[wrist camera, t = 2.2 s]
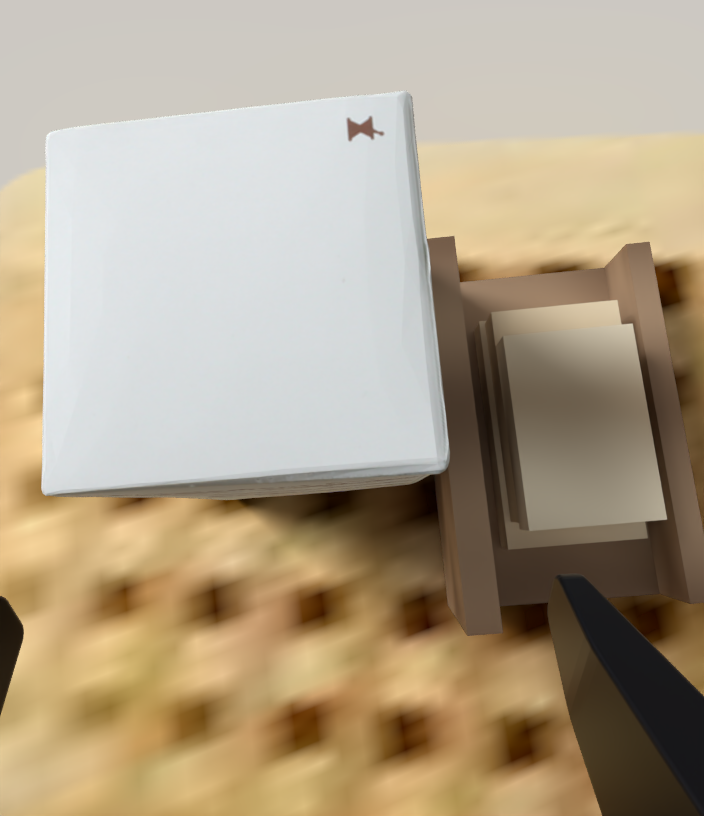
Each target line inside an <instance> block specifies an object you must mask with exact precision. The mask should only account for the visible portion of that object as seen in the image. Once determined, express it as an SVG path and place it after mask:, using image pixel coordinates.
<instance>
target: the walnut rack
mask: <svg viewBox="0 0 704 816" xmlns="http://www.w3.org/2000/svg"><path fill="white" fill-rule="evenodd" d="M427 242H428V246H429V254H430V266H431V279H432V291H433V301H434V310H435V320H436V329H437V339H438V348H439V357H440V366H441V375H442V385H443V394H444V403H445V412H446V421H447V430H448V439H449V449H450V460H449V464H448V467H447V469H446V470H445V471H443V472H442V473H440V474H434V481H435V491H436V500H437V509H438V518H439V527H440V537H441V546H442V555H443V564H444V574H445V583H446V592H447V601H448V606H449V608H450V609H451V611H452V612H453V614H454V616H455V617H456V619H457V620H458V622H459V623H460V625H461V627H462V628H463V630H464V631H465V633H466V634H467V636H471V635H485V634H498V633H503V628H502V620H501V612H500V606H511V605H524V604H537V603H548V602H549V598H550V593H551V589H552V585H553V580H554V578H555V577H556V576H557V575H559V574H581V575H583V576H584V577H586V578H587V579H588V580H589V581H590V582H591V583H592V584H593V585H594V586H595V587H596V588H597V589H598V590H599V591H600V592H601V593H602V594H603V595H604V596H605V597H606V598H614V597H627V596H640V595H653V594H661V595H665V596H668V597H671V598H674V599H677V600H680V601H683V602H686V603H690V604H694V603H704V531H703V526H702V521H701V515H700V510H699V505H698V499H697V494H696V489H695V483H694V478H693V472H692V467H691V462H690V456H689V451H688V446H687V440H686V435H685V430H684V424H683V419H682V413H681V408H680V403H679V397H678V392H677V387H676V381H675V376H674V371H673V365H672V360H671V355H670V349H669V344H668V338H667V333H666V328H665V322H664V317H663V312H662V306H661V301H660V296H659V290H658V285H657V279H656V274H655V269H654V263H653V258H652V253H651V247H650V242H643V243H634V244H626V245H625V246H624V247H623V248H622V249H621V250H620V251H619V252H618V254H617V255H616V256H615V257H614V258H613V259H612V260H611V261H610V262H609V263H608V264H607V265H606V267H605V268H598V269H588V270H578V271H568V272H558V273H548V274H539V275H529V276H519V277H509V278H499V279H489V280H479V281H469V282H460V279H459V271H458V263H457V255H456V247H455V239H454V236H451V237H441V238H431V239H427ZM611 300H617V301H618V307H619V313H620V318H621V324H632V323H633V328H634V334H635V340H636V345H637V351H638V357H639V362H640V368H641V374H642V379H643V385H644V391H645V396H646V402H647V408H648V413H649V419H650V425H651V430H652V436H653V442H654V447H655V453H656V459H657V464H658V470H659V476H660V481H661V487H662V493H663V498H664V504H665V510H666V515H667V520H657V521H645V524H646V530H647V536H648V538H645V539H633V540H621V541H608V542H596V543H584V544H572V545H559V546H547V547H535V548H523V549H510V550H508V549H505V548H502V547H501V543H500V535H499V527H498V519H497V511H496V503H495V495H494V487H493V479H492V471H491V463H490V455H489V447H488V439H487V432H486V424H485V416H484V408H483V400H482V392H481V384H480V376H479V368H478V360H477V352H476V344H475V336H474V330H475V328H476V326H477V324H478V322H479V321H487V319H488V317H489V315H490V313H491V312H499V311H509V310H519V309H529V308H540V307H550V306H560V305H570V304H580V303H590V302H600V301H611Z"/></svg>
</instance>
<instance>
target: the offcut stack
mask: <svg viewBox="0 0 704 816" xmlns="http://www.w3.org/2000/svg"><path fill="white" fill-rule="evenodd" d="M474 336H475V344H476V352H477V360H478V368H479V376H480V384H481V392H482V400H483V408H484V416H485V424H486V432H487V439H488V447H489V455H490V463H491V471H492V479H493V487H494V495H495V503H496V511H497V519H498V527H499V535H500V543H501V547H502V548H505V549H508V550H510V549H523V548H535V547H547V546H559V545H572V544H584V543H596V542H608V541H621V540H633V539H645V538H648V536H647V530H646V524H645V521H657V520H667V515H666V510H665V504H664V498H663V493H662V487H661V481H660V476H659V470H658V464H657V459H656V453H655V447H654V442H653V436H652V430H651V425H650V419H649V413H648V408H647V402H646V396H645V391H644V385H643V379H642V374H641V368H640V362H639V357H638V351H637V345H636V340H635V334H634V328H633V323H632V324H621V318H620V313H619V307H618V301H617V300H611V301H600V302H590V303H580V304H570V305H560V306H550V307H540V308H529V309H519V310H509V311H499V312H491V313H490V315H489V317H488V319H487V321H479V322H478V324H477V326H476V328H475V330H474Z"/></svg>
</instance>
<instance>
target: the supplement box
mask: <svg viewBox="0 0 704 816" xmlns="http://www.w3.org/2000/svg"><path fill="white" fill-rule="evenodd" d="M42 448H43V453H42V492H43V494H44V495H46V496H58V497H176V498H198V499H218V500H235V499H246V498H259V497H273V496H288V495H301V494H313V493H326V492H338V491H349V490H359V489H369V488H380V487H390V486H400V485H409V484H413V483H416V482H418V481H420V480H422V479H423V478H425V477H427V476H429V475H432V474H440V473H442V472H443V471H445V470H446V469H447V467H448V464H449V460H450V449H449V439H448V430H447V421H446V412H445V403H444V394H443V385H442V375H441V366H440V357H439V348H438V339H437V329H436V320H435V310H434V301H433V291H432V279H431V266H430V254H429V246H428V242H427V237H426V230H425V221H424V211H423V202H422V193H421V184H420V174H419V164H418V154H417V144H416V136H415V125H414V114H413V102H412V96H411V95H410V94H409V93H408V92H407V91H399V92H391V93H384V94H372V95H357V96H347V97H337V98H328V99H318V100H309V101H301V102H292V103H283V104H274V105H265V106H256V107H246V108H237V109H230V110H223V111H212V112H203V113H193V114H184V115H176V116H167V117H159V118H150V119H141V120H133V121H123V122H114V123H104V124H95V125H87V126H79V127H72V128H67V129H62V130H56V131H52V132H50V133H49V134H48V135H47V136H46V214H45V303H44V386H43V439H42Z"/></svg>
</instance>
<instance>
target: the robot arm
mask: <svg viewBox="0 0 704 816" xmlns="http://www.w3.org/2000/svg"><path fill="white" fill-rule="evenodd" d="M547 612H548V621H549V625H550V630H551V635H552V639H553V644H554V648H555V653H556V658H557V662H558V667H559V671H560V676H561V680H562V685H563V690H564V694H565V699H566V703H567V707H568V711H569V715H570V719H571V722H572V725H573V729H574V732H575V735H576V738H577V741H578V744H579V747H580V750H581V753H582V756H583V759H584V762H585V765H586V768H587V771H588V774H589V777H590V780H591V783H592V786H593V789H594V792H595V795H596V798H597V801H598V804H599V807H600V810H601V813H602V816H704V696H703V695H702V694H701V693H700V692H699V691H698V690H697V689H696V688H695V687H694V686H693V685H692V684H691V683H690V682H689V681H688V680H687V679H686V678H685V677H684V676H683V675H682V674H681V673H680V672H679V671H678V670H677V669H676V668H675V667H674V666H673V665H672V664H671V663H670V662H669V661H668V660H667V659H666V658H665V657H664V656H663V655H662V654H661V653H660V652H659V651H658V650H657V649H656V648H655V647H654V646H653V645H652V644H651V643H650V642H649V641H648V640H647V639H646V638H645V637H644V636H643V635H642V634H641V633H640V632H639V631H638V630H637V629H636V628H635V627H634V626H633V625H632V624H631V623H630V622H629V621H628V620H627V618H626V617H625V616H624V615H623V614H622V613H621V612H620V611H619V610H618V609H617V608H616V607H615V606H614V605H613V604H612V603H611V602H610V601H609V600H608V599H607V598H606V597H605V596H604V595H603V594H602V593H601V592H600V591H599V590H598V589H597V588H596V587H595V586H594V585H593V584H592V583H591V582H590V581H589V580H588V579H587V578H586V577H584V576H583V575H581V574H559V575H557V576H556V577H555V578H554V580H553V585H552V589H551V593H550V598H549V602H548V608H547ZM23 635H24V630H23V625H22V623H21V621H20V620H19V618H18V616H17V615H16V613H15V612H14V610H13V608H12V607H11V605H10V604H9V602H8V601H7V599H6V598H4V597H2V596H0V715H1V712H2V708H3V705H4V702H5V698H6V695H7V692H8V688H9V685H10V681H11V678H12V675H13V671H14V668H15V665H16V661H17V658H18V655H19V651H20V648H21V644H22V641H23Z"/></svg>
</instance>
